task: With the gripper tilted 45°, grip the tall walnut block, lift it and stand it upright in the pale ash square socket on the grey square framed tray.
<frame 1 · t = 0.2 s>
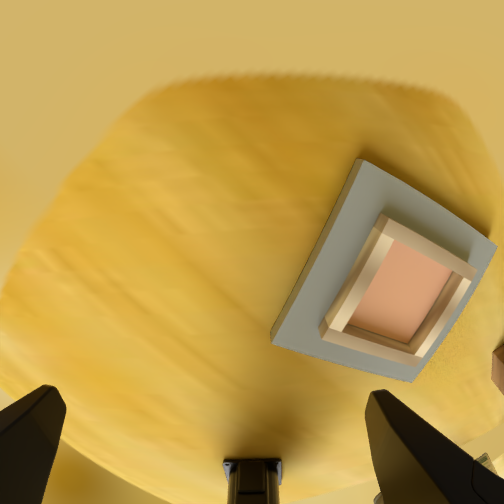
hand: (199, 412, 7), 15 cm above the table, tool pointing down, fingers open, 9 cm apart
syrup box: (473, 464, 35), on the table
grey square framed tray: (391, 285, 22), on the table
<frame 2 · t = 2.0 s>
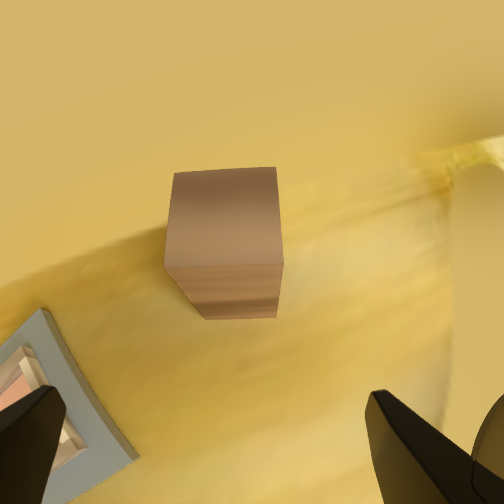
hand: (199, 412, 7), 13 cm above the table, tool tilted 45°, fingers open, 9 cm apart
grey square framed tray: (36, 422, 18), on the table
walnut block: (240, 285, 23), on the table
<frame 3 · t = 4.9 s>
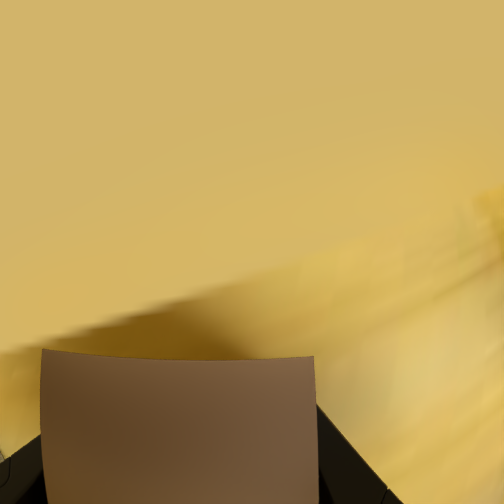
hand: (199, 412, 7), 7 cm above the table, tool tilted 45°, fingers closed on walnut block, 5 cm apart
walnut block: (229, 431, 13), on the table, touching gripper
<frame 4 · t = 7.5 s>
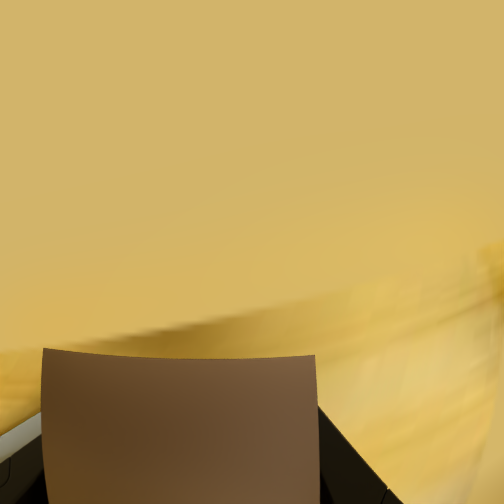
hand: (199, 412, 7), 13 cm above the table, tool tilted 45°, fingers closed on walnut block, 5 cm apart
grey square framed tray: (63, 499, 16), on the table
walnut block: (229, 430, 13), point 7 cm above the table, touching gripper
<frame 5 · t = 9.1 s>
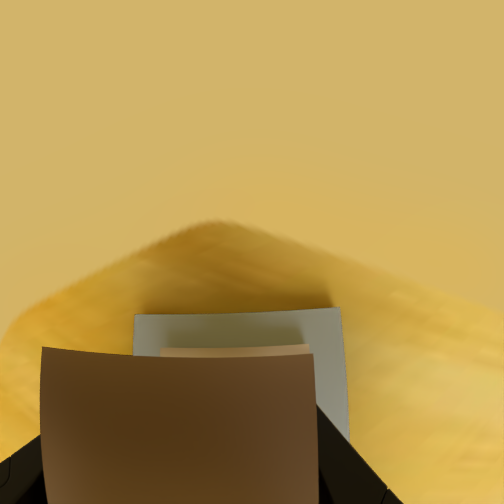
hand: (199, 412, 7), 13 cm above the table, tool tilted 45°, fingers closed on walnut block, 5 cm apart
grey square framed tray: (239, 417, 19), on the table
walnut block: (229, 430, 13), point 7 cm above the table, touching gripper
when the fingers open (9 cm above the table, at t = 10.3 s): walnut block drops 1 cm, resting on grey square framed tray.
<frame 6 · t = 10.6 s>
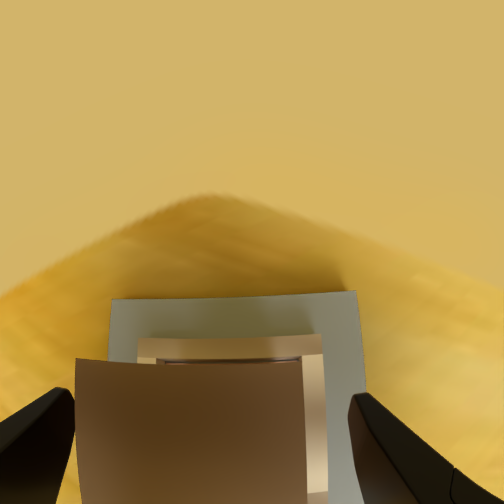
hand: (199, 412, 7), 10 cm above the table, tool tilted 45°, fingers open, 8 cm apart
grey square framed tray: (234, 424, 15), on the table
walnut block: (231, 427, 14), point 2 cm above the table, touching grey square framed tray
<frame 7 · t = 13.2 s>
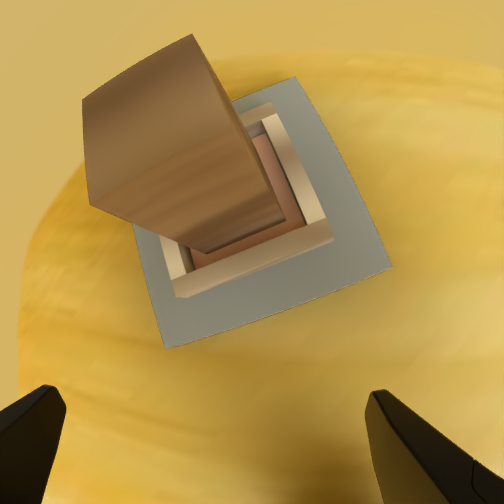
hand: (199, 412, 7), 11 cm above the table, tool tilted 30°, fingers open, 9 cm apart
grey square framed tray: (239, 207, 20), on the table
walnut block: (231, 199, 19), point 2 cm above the table, touching grey square framed tray
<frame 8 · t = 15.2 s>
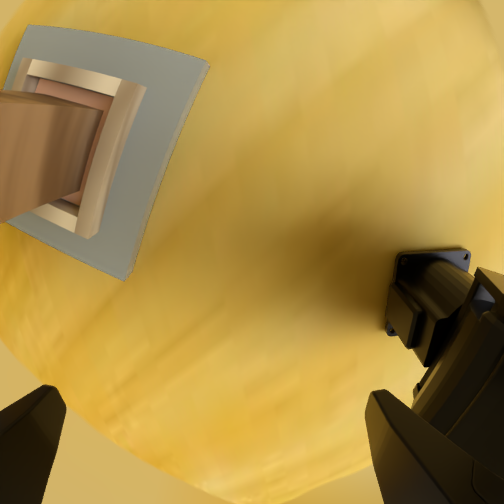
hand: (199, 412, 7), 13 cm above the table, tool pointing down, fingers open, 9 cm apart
grey square framed tray: (72, 139, 17), on the table
walnut block: (59, 140, 16), point 2 cm above the table, touching grey square framed tray
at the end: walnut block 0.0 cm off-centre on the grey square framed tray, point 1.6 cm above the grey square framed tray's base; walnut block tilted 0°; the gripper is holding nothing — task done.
